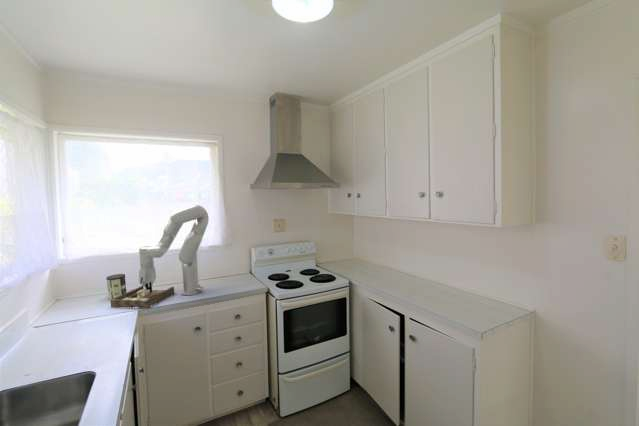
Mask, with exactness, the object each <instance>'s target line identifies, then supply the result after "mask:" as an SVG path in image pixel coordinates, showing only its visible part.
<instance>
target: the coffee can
mask: <svg viewBox="0 0 639 426" xmlns="http://www.w3.org/2000/svg"><path fill="white" fill-rule="evenodd" d="M105 280H106V285H107V286H106V287H107V295H108V298H107V299H108V300H112V299H114V298H116V297H118V296H120V295H123V294H125V293H127V292H128V291H127V283H126V274H124V273H117V274H111V275H109V276H106V278H105Z"/></svg>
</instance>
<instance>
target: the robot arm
mask: <svg viewBox="0 0 639 426" xmlns="http://www.w3.org/2000/svg"><path fill="white" fill-rule="evenodd" d="M192 221H194V222H193V225H192V227H191V230H190V232H189V233H188V235H187V236H186V237H185V238H184V242H183V244H182V245H181V248H180V251H179V254H178V260H179V261H180V263H181V268H182V269H181V272H182V285H183V287H182V288H183V289H182V290H181V292H180V293H181V295H182V296H192V295H196V294H199V293H200V292H202V291H203V290H204V286H201V284H199V272H198V251H199V248H200V247H201V246H200V245H201V243H202V241H203V238H204V235H205V232H206V230H207V227H208V225H209V214H208V211H207V209H205V207H204V206H202V205H199V204H198V205H197V204H196V205H193V206H190V207H186V208H184V209H180V210H175V211H173V212H172V213H171V214H170V217H169V220H168V222H167V224H166V225H165V226H164V228H163V233H162V237H161V238H160V240H159V241H158V243H157V245H156V246H151V245H145V246H140V247H139V251H138V252H139V264H140V265H139V266H140V268H139V270H138V271H139V272H138V282H139V284H141V286H143V287H144V288H145V289H150V293H151V292H152V290H153V284H154V283H155V282H156V279H157V273H156V269H155V265H154V264H155V263H154V258H156V259H158V258H159V259H160V258H162V257H163V256H164V255H165V254H166V253H167V252H168V251H169V249H170V247H171V245H172V244H173V242H174V240H175V239H176V238H177V235H178V233H179V232H180V230H181V228H182V227H183V225H184V224H185V223H188V222H192ZM141 286H140V287H141Z"/></svg>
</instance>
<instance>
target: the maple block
mask: <svg viewBox="0 0 639 426" xmlns="http://www.w3.org/2000/svg"><path fill="white" fill-rule="evenodd" d="M148 296H150V289H146V288H144V289H142V290H140V291H138V292H137V298H146V297H148Z"/></svg>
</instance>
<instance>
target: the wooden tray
mask: <svg viewBox="0 0 639 426" xmlns="http://www.w3.org/2000/svg"><path fill="white" fill-rule="evenodd" d="M142 289H145V287H144V286H138V287H137V288H134V289H131V290H129V291H126V292H127V293H125V294H123V295H120V296H118V297H116V298H114V299H112V300H111V299H109V300H110V301H109V303H110V307H111V308H118V307H126V308H127V307H129V308H127V309H134V308H133V307H138V308H137V309H143V308H147V307H149V306H151V305H153V304H154V305H156V304H158V303H159V301H160V302H161V301H163V300H165V299H167V298H168V297H170V296H172V295H174V294H175V287H174V286H171V287H169V288H168V289H152V292H151V293H150V296H148V297H146V298H137V292H138V291H140V290H142ZM157 302H158V303H157ZM155 303H156V304H155ZM154 305H153V306H154ZM130 307H131V308H130ZM151 307H152V306H151ZM126 308H125V309H126ZM149 308H150V307H149ZM147 309H148V308H147Z"/></svg>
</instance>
